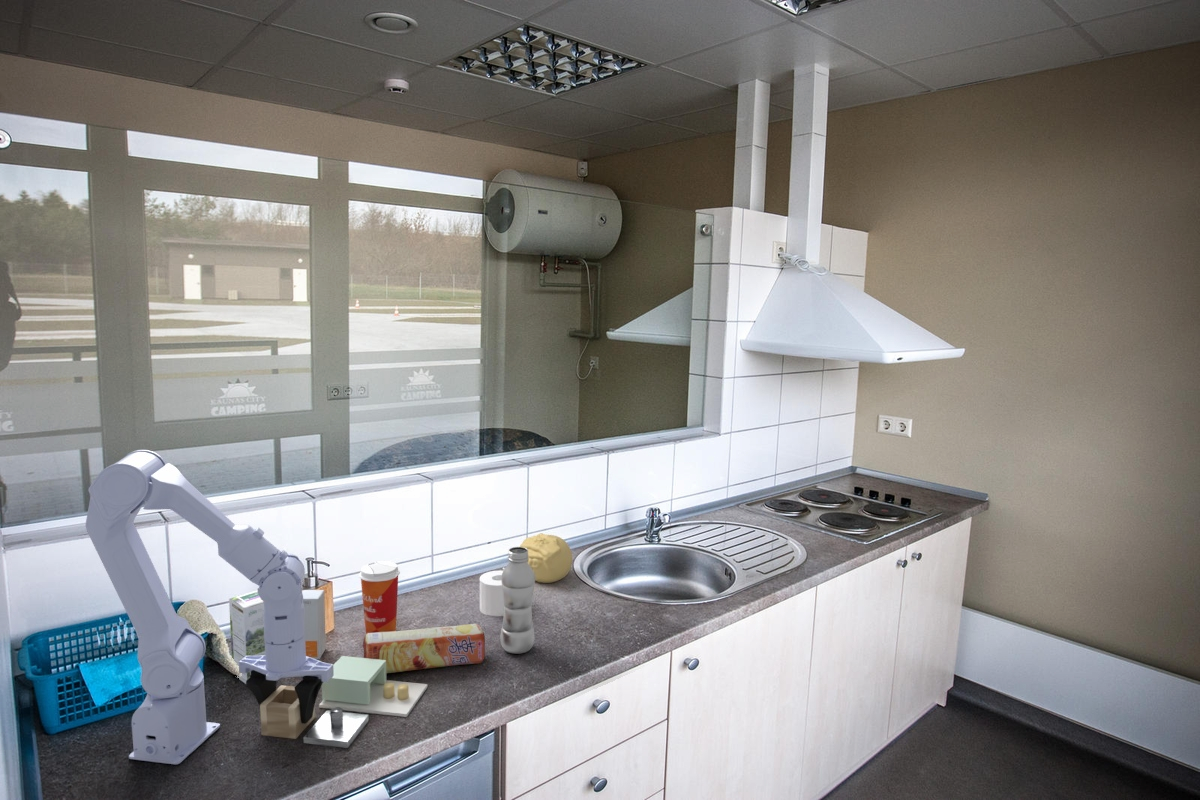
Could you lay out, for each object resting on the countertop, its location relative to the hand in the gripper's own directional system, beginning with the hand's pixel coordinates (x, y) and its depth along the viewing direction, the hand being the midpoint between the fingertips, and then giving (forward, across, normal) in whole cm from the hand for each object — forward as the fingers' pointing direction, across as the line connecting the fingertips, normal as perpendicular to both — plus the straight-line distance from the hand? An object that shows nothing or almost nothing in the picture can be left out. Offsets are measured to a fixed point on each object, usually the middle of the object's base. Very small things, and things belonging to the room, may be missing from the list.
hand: (288, 717), depth 112 cm
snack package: (+1, +14, +21) cm, 25 cm away
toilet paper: (+2, +21, +49) cm, 53 cm away
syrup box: (+2, -14, +13) cm, 19 cm away
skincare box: (+2, -9, +21) cm, 23 cm away
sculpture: (+2, +27, +66) cm, 71 cm away
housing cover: (+1, +6, +10) cm, 12 cm away
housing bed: (+1, +10, +10) cm, 14 cm away
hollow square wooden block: (+1, 0, 0) cm, 1 cm away
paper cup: (+2, +1, +31) cm, 31 cm away
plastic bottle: (+2, +29, +30) cm, 42 cm away
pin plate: (+1, +8, 0) cm, 8 cm away
